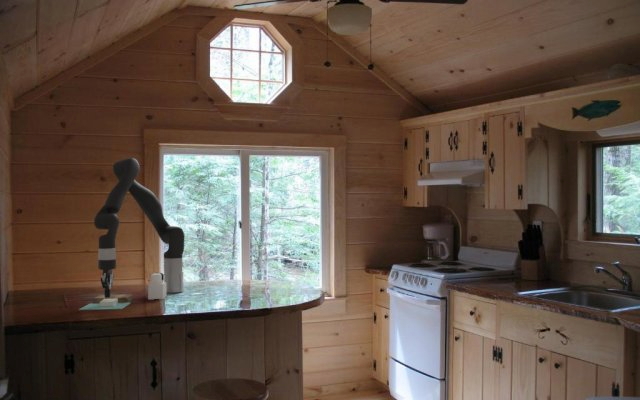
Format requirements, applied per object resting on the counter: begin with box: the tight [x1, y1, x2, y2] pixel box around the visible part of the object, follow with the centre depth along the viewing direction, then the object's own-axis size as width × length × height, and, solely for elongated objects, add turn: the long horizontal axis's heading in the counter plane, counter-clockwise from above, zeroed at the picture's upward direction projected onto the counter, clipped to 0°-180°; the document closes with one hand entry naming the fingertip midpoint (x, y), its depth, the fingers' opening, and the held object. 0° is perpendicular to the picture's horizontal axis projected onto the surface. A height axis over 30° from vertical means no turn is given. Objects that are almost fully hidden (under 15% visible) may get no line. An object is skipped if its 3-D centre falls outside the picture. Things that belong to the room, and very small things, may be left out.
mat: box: [78, 301, 132, 311], centre depth 276 cm, size 18×16×1 cm
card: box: [100, 298, 118, 306], centre depth 279 cm, size 9×6×2 cm, turn 7°
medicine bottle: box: [147, 272, 168, 301], centre depth 297 cm, size 7×7×12 cm
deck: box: [93, 293, 134, 303], centre depth 289 cm, size 15×10×2 cm, turn 94°
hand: (107, 297), depth 279 cm, fingers closed
